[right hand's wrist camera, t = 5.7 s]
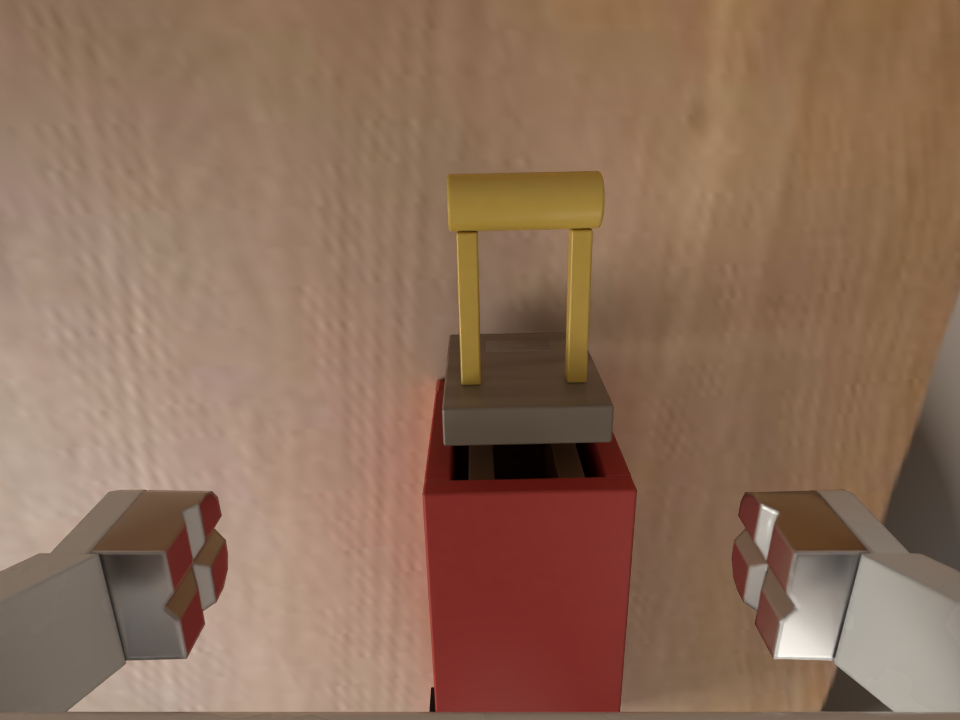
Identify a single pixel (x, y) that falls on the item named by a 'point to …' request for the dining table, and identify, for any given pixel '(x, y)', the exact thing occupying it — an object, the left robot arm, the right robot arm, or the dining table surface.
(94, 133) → the dining table surface
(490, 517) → the red drawer housing
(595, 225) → the drawer
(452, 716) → the right robot arm
